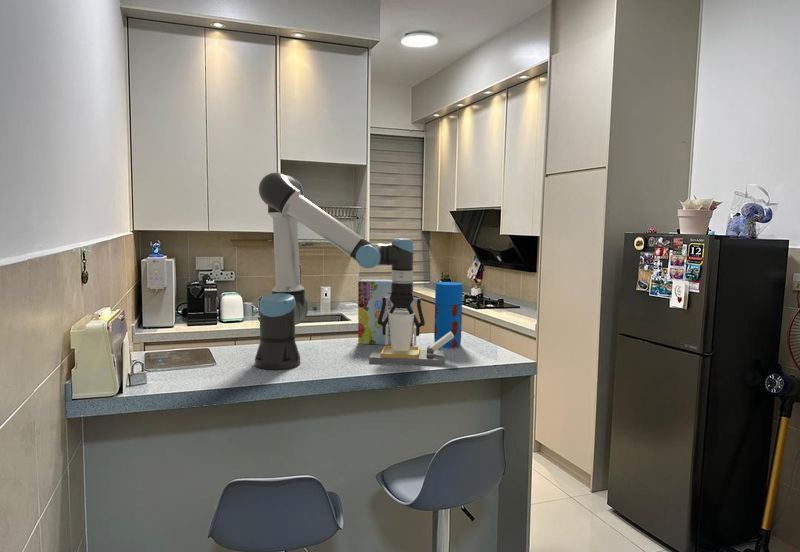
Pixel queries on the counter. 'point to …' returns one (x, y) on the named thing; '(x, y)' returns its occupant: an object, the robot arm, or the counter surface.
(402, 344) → the foam cup
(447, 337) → the lever
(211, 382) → the counter surface
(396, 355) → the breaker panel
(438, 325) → the thermos
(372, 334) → the snack box
